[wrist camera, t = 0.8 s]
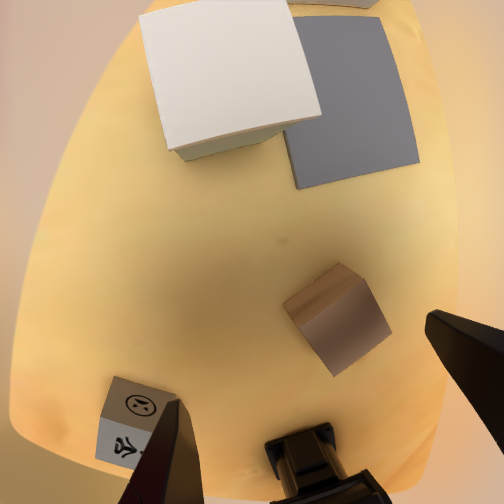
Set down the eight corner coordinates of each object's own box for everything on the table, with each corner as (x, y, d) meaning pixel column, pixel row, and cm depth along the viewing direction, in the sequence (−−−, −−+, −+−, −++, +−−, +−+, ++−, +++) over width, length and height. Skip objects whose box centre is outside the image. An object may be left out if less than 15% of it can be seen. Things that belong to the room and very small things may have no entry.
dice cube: (114, 375, 22) (100, 416, 17) (175, 393, 23) (173, 437, 18) (106, 417, 22) (95, 458, 18) (162, 433, 24) (159, 475, 19)
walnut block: (366, 311, 24) (392, 332, 20) (315, 349, 24) (333, 377, 20) (338, 262, 22) (364, 279, 19) (281, 303, 22) (298, 328, 19)
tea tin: (263, 143, 20) (322, 114, 10) (184, 163, 19) (168, 149, 9) (244, 69, 18) (282, -10, 9) (165, 88, 18) (138, 15, 8)
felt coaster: (415, 162, 22) (419, 162, 21) (296, 189, 21) (299, 189, 20) (375, 20, 18) (379, 17, 18) (252, 24, 17) (253, 21, 17)
